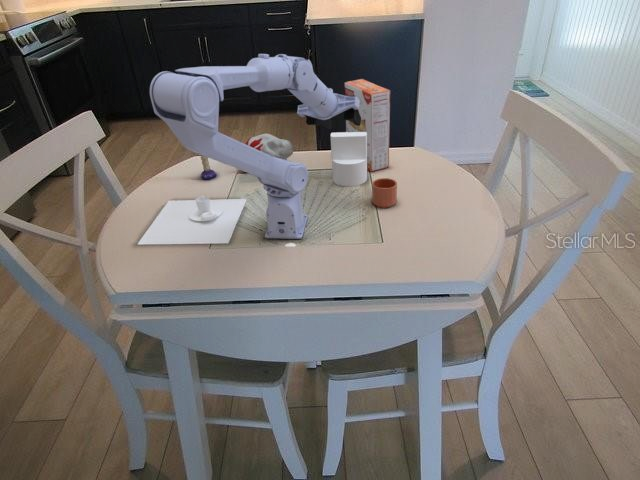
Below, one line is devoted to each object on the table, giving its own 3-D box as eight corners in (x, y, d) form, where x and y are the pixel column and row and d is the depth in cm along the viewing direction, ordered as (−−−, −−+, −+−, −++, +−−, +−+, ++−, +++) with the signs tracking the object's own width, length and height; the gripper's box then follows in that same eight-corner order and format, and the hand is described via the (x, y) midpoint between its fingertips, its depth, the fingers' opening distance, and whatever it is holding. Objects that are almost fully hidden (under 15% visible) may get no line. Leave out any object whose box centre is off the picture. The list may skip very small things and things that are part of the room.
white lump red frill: (297, 163, 129) (250, 184, 123) (277, 151, 137) (233, 170, 131) (290, 133, 123) (241, 154, 118) (271, 123, 131) (224, 142, 126)
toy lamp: (214, 180, 124) (202, 119, 114) (197, 181, 124) (183, 121, 115) (217, 173, 128) (206, 113, 118) (201, 174, 128) (188, 114, 119)
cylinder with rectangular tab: (367, 171, 123) (367, 127, 116) (366, 186, 115) (366, 140, 109) (333, 171, 124) (331, 128, 117) (331, 186, 116) (328, 141, 110)
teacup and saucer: (217, 224, 103) (214, 208, 101) (183, 225, 104) (179, 209, 102) (226, 205, 111) (223, 190, 109) (194, 206, 111) (191, 191, 109)
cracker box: (345, 155, 132) (343, 81, 121) (363, 151, 134) (363, 77, 123) (370, 173, 122) (370, 93, 110) (389, 168, 124) (391, 89, 112)
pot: (396, 208, 105) (397, 189, 102) (371, 208, 106) (371, 188, 103) (396, 197, 109) (396, 178, 107) (372, 197, 110) (372, 178, 107)
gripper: (348, 72, 93) (375, 103, 104) (289, 83, 100) (320, 111, 111) (344, 104, 91) (371, 132, 103) (284, 113, 99) (316, 138, 110)
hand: (344, 123), depth 107 cm, fingers open, 7 cm apart
